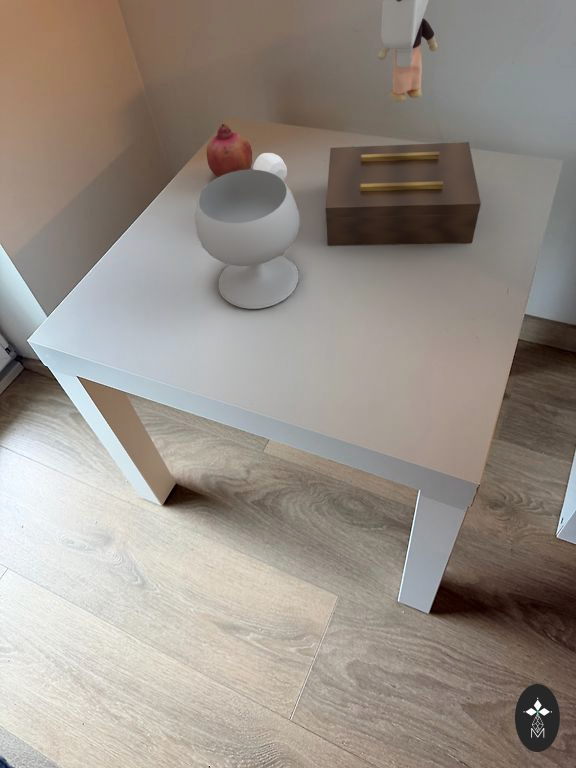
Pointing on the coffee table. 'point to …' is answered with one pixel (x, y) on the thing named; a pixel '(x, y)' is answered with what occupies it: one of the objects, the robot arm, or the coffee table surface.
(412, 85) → the grandmother figurine
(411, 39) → the robot arm
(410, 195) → the box with brass rails
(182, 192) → the coffee table surface
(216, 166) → the fruit
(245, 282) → the chalice
